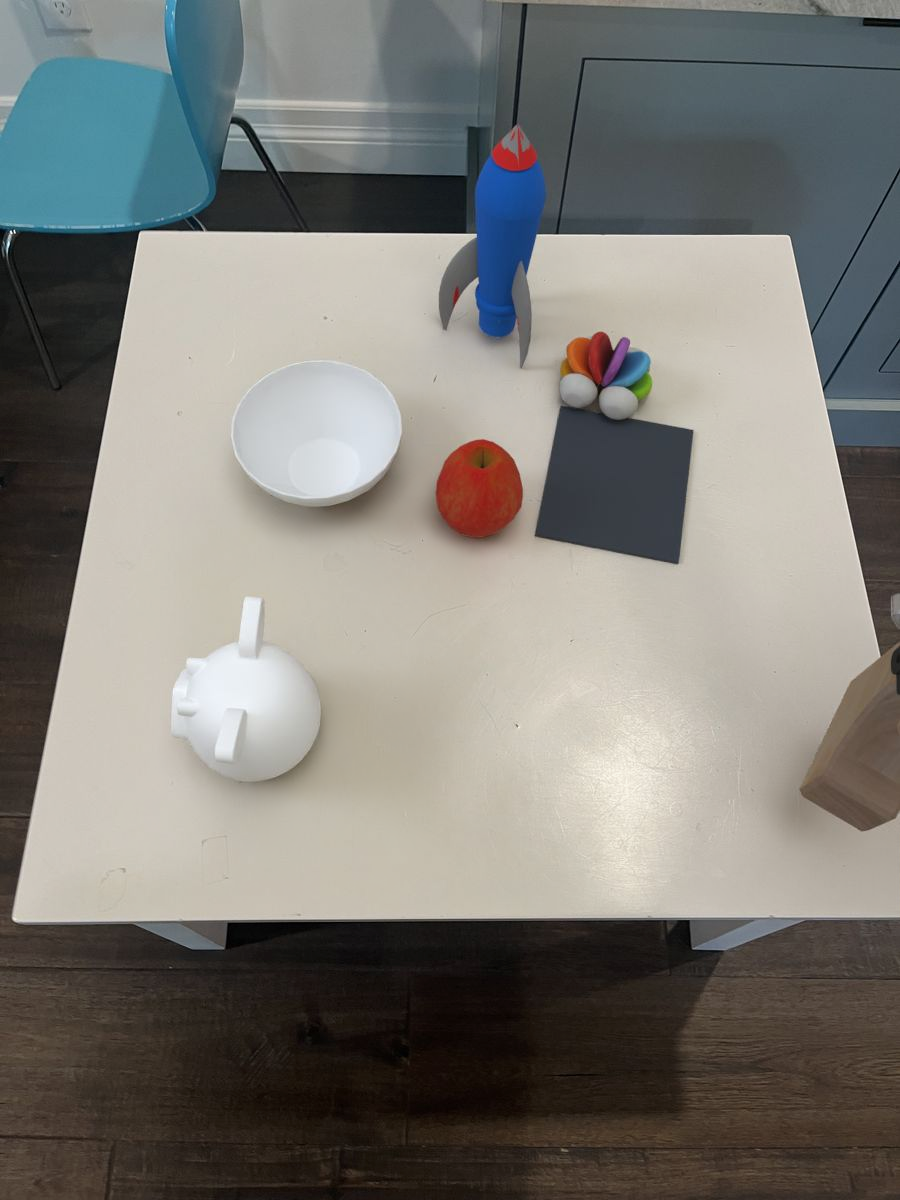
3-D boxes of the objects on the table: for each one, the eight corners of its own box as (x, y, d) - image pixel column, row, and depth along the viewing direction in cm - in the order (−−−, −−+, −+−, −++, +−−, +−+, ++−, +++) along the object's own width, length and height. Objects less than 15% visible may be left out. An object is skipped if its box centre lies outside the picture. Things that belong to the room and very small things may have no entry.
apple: (534, 528, 86) (548, 465, 76) (463, 566, 84) (468, 507, 74) (488, 468, 89) (496, 400, 79) (419, 504, 87) (418, 439, 77)
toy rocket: (526, 373, 94) (558, 169, 72) (437, 371, 94) (441, 165, 71) (523, 298, 99) (553, 84, 76) (438, 295, 99) (442, 80, 76)
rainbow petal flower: (570, 350, 96) (581, 298, 89) (656, 376, 94) (673, 325, 88) (546, 405, 92) (556, 355, 85) (635, 433, 90) (652, 384, 84)
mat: (692, 432, 91) (693, 429, 91) (677, 564, 84) (679, 562, 84) (560, 407, 92) (560, 405, 92) (534, 536, 85) (535, 534, 85)
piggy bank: (184, 684, 78) (133, 613, 64) (315, 657, 79) (292, 582, 66) (199, 821, 73) (147, 775, 59) (338, 790, 74) (319, 739, 61)
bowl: (212, 460, 88) (196, 417, 82) (338, 380, 93) (332, 333, 87) (308, 567, 83) (299, 530, 77) (436, 477, 88) (437, 435, 82)
